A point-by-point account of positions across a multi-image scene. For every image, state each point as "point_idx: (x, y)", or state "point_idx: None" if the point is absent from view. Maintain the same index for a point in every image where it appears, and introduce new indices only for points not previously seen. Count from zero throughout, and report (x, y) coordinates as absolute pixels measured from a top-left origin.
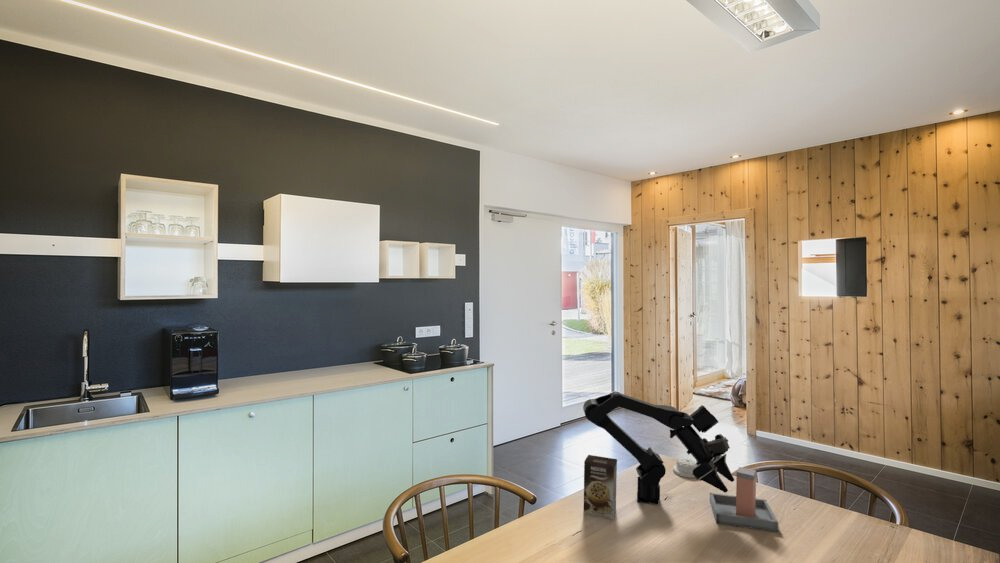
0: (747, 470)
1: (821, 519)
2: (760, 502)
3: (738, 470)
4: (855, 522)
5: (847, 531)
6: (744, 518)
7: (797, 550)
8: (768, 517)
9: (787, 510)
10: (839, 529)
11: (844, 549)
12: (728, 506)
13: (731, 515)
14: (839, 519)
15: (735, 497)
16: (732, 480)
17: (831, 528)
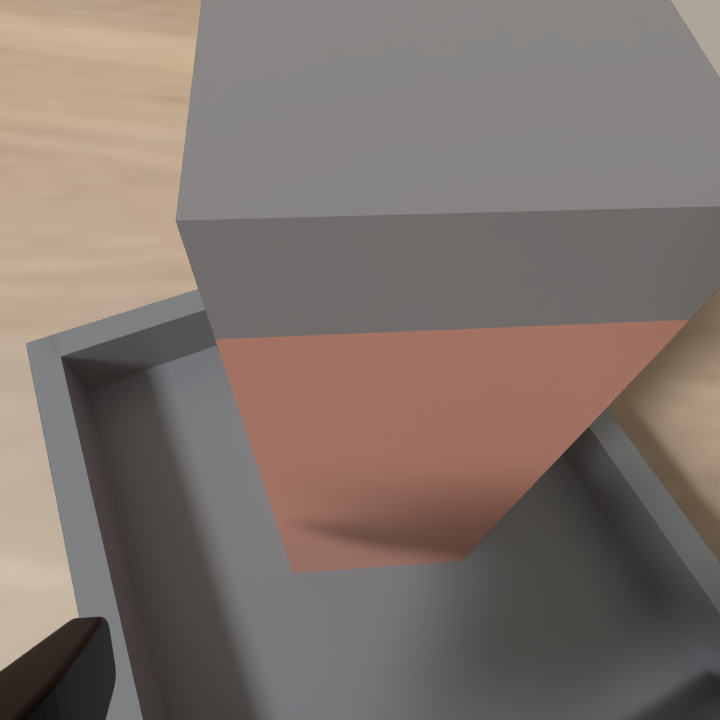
0: (354, 20)
1: (65, 107)
2: (75, 393)
3: (605, 180)
4: (15, 7)
5: (161, 27)
6: (613, 423)
7: None
8: None
9: (15, 259)
10: (158, 48)
11: None
12: (296, 701)
13: (693, 540)
14: (12, 51)
15: (128, 645)
16: (109, 657)
17: (170, 71)
